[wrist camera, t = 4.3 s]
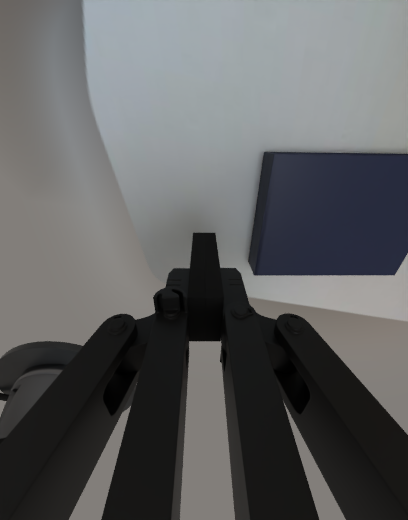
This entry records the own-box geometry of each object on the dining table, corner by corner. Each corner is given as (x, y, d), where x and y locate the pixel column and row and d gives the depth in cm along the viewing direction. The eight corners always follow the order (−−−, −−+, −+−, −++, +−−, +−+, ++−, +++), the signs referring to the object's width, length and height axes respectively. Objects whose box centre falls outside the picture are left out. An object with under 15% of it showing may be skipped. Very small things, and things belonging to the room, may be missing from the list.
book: (248, 261, 25) (253, 275, 23) (264, 152, 19) (274, 154, 17) (374, 261, 26) (394, 275, 23) (430, 154, 19) (465, 156, 17)
